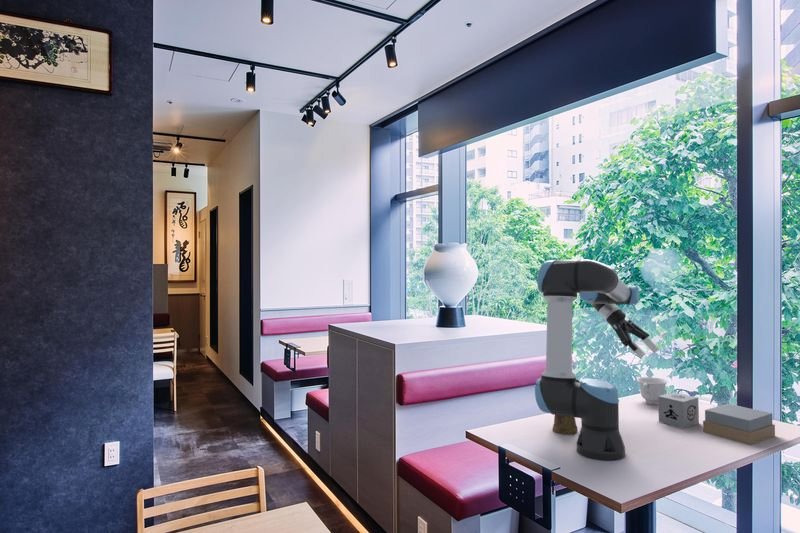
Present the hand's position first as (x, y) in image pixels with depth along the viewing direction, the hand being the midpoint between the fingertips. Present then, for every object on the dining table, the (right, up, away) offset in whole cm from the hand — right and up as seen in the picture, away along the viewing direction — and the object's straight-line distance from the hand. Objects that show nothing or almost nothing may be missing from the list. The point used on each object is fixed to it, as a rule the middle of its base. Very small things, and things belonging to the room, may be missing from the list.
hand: (650, 353), depth 204 cm
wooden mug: (-37, -27, -12) cm, 47 cm away
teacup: (+10, -25, +20) cm, 34 cm away
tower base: (+21, -25, -21) cm, 39 cm away
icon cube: (+8, -26, -7) cm, 28 cm away
